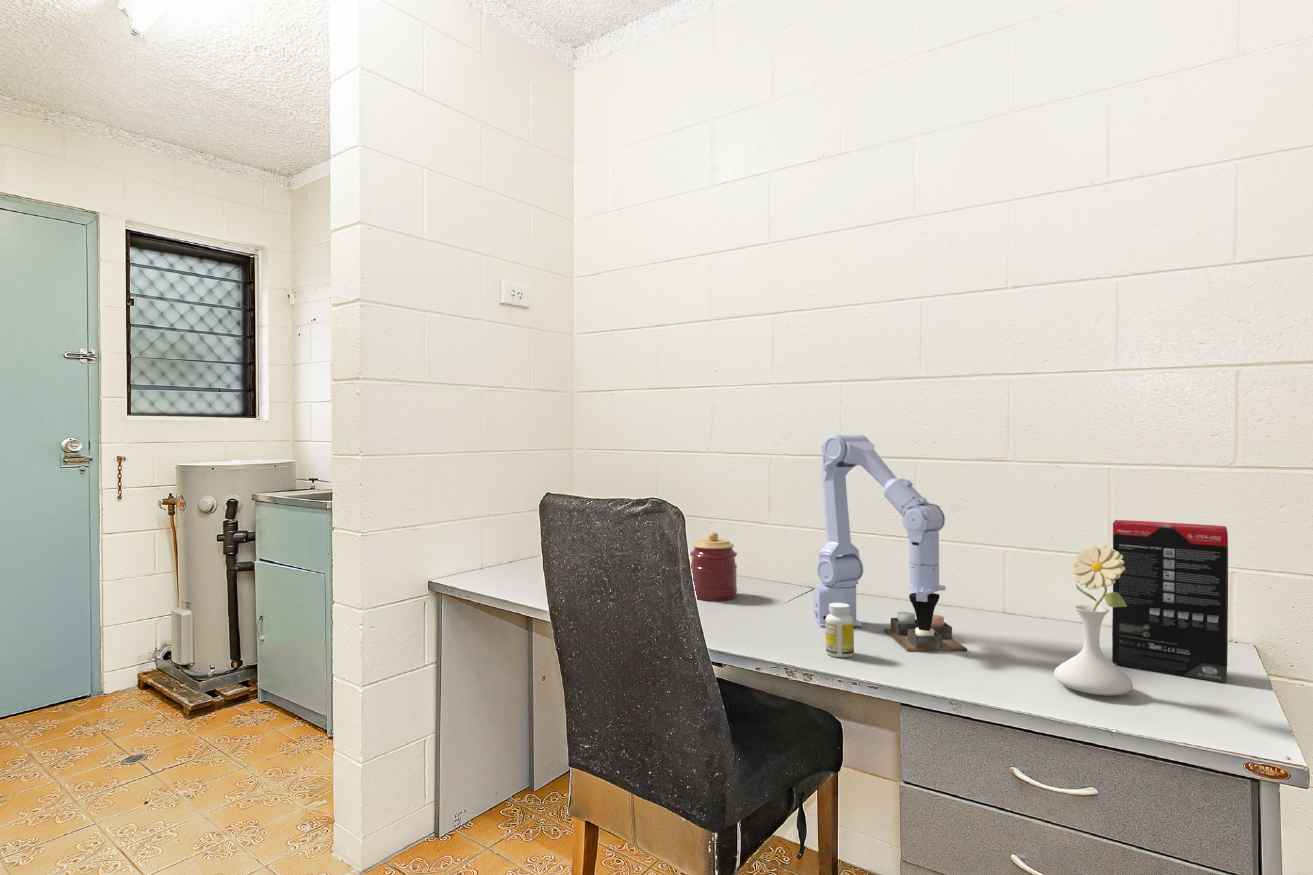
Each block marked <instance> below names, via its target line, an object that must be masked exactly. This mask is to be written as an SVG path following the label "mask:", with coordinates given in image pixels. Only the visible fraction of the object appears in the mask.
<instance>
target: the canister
mask: <svg viewBox="0 0 1313 875" xmlns="http://www.w3.org/2000/svg"><path fill="white" fill-rule="evenodd" d="M692 547H694V549H693V550H692V551H690V553H689V555H690V556H691V564H690V565H691V567H690V570H691V569H692V573H693V581H694V585H695V591H696V595H697V600H702V601H712V602H713V601H715V602H716V601H719V602H720V601H729V600H733V599H735V598H736V597H737V593H738V586H737V567H738V564H736V557H737V556H738V553H737V552H736V551H735V550H734V549H733V548H734V547H735V545H734V544H733V543H731V542H730V541H729V540H727V539H723V538H719V535H718V533H716V532H714V531H713V532H710V533H709V535H708V538H702V539H698V541H696V542H695V543H693V544H692Z"/></svg>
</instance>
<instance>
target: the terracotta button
mask: <svg viewBox="0 0 1313 875" xmlns="http://www.w3.org/2000/svg"><path fill="white" fill-rule="evenodd" d="M944 622H945V617H944V616H942V615H938V614H933V619H932V625H931V627H944Z"/></svg>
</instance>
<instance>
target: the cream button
mask: <svg viewBox="0 0 1313 875" xmlns="http://www.w3.org/2000/svg"><path fill="white" fill-rule="evenodd" d="M915 634H916V635H917V636H934V630H933V629H930V631H926V630H919V628H918V627H917V628H915Z"/></svg>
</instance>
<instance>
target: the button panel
mask: <svg viewBox="0 0 1313 875" xmlns="http://www.w3.org/2000/svg"><path fill="white" fill-rule="evenodd" d="M917 627H918V624H917V618H915V624H907V623H898V617H890V628H888V627H886V628H885V627H884V628H883V632H884V633H886V634H887V635H888V636H889V637H890V638H891V639H893V640H894V642H896V643H897V644H898V645H899V646H901V647H902V648H903V649H904V650H905V651H907V652H953V653H954V652H957V653H958V652H960V653H961V652H966V653H967V652H968V648H967V647H966V646H964V645H963V644H961V643H960V642H959V641H957V640H956V639H954V638H953V627H952V625H950V624H948V623H947V622H945V621H944V627H931V629H933V630H934V636H917V635H916V634H915V628H917Z"/></svg>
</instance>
